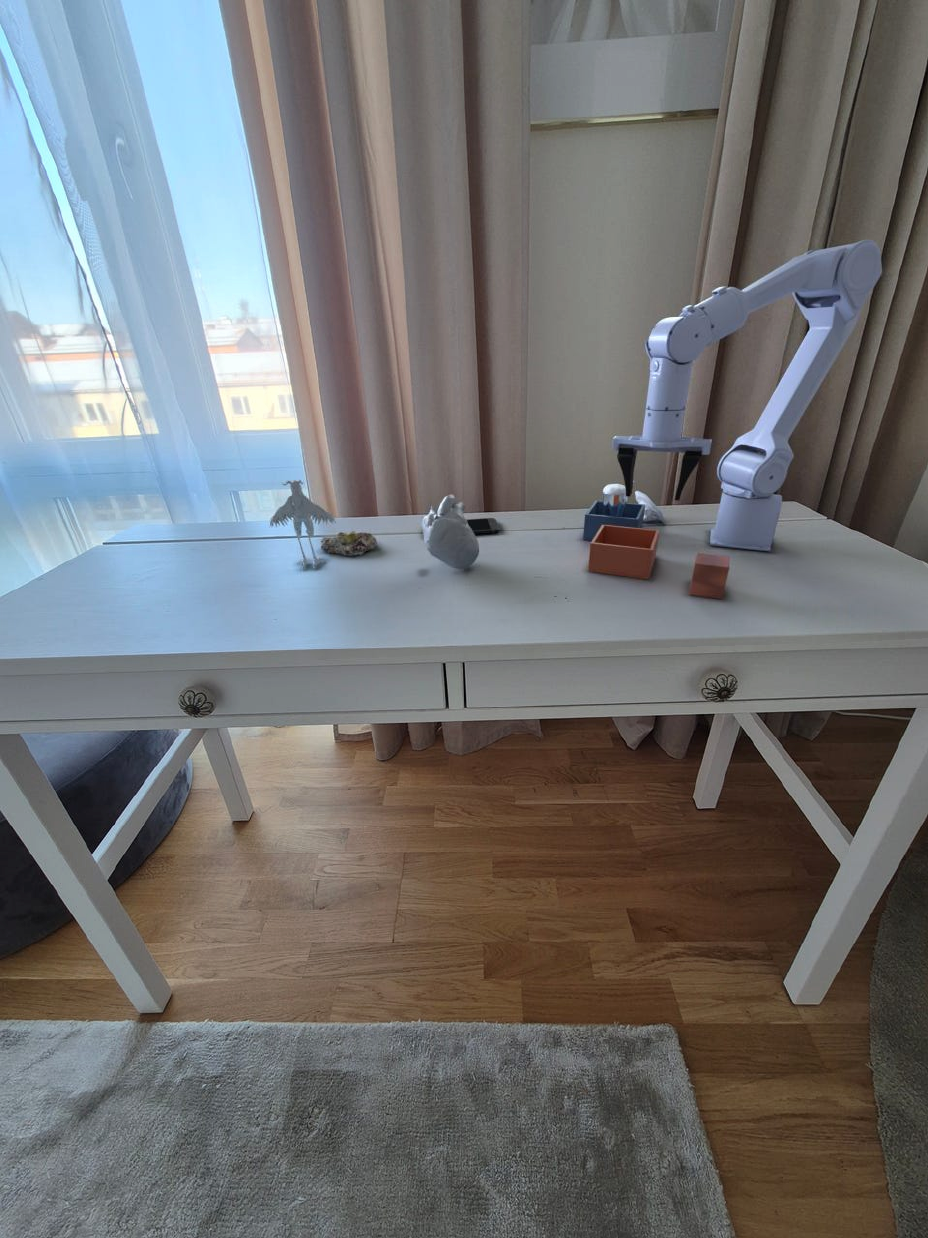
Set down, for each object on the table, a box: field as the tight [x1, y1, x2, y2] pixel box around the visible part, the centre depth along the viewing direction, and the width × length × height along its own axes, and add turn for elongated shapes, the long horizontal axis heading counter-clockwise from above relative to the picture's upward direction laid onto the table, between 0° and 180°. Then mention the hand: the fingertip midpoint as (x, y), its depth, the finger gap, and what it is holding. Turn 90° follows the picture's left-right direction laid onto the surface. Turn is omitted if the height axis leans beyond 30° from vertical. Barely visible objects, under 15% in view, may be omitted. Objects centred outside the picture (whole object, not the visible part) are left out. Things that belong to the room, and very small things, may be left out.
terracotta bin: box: [587, 525, 661, 580], centre depth 83 cm, size 10×10×5 cm
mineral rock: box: [320, 530, 378, 557], centre depth 95 cm, size 11×4×8 cm
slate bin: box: [582, 500, 645, 542], centre depth 96 cm, size 10×10×5 cm
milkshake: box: [602, 479, 635, 517], centre depth 94 cm, size 4×5×10 cm
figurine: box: [269, 479, 337, 571], centre depth 86 cm, size 11×4×15 cm, turn 95°
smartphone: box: [466, 517, 501, 535], centre depth 102 cm, size 7×15×1 cm, turn 95°
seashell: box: [634, 490, 666, 523], centre depth 102 cm, size 8×5×8 cm
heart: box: [421, 493, 480, 570], centre depth 84 cm, size 10×10×12 cm
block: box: [688, 552, 730, 600], centre depth 74 cm, size 4×4×5 cm
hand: (652, 496), depth 83 cm, fingers open, 7 cm apart
